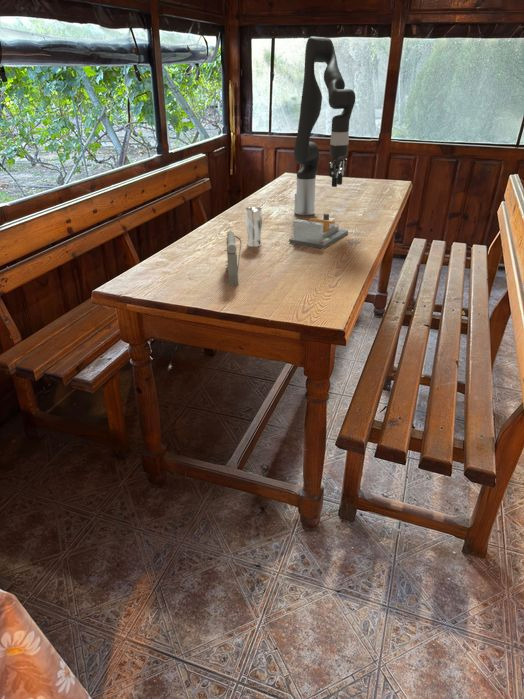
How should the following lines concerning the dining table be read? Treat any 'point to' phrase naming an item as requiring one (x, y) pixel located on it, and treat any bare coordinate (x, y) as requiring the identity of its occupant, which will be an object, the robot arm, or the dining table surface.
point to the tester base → (325, 238)
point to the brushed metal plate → (308, 231)
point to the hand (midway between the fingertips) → (336, 185)
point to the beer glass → (253, 225)
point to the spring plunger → (326, 217)
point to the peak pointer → (325, 223)
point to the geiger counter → (232, 258)
